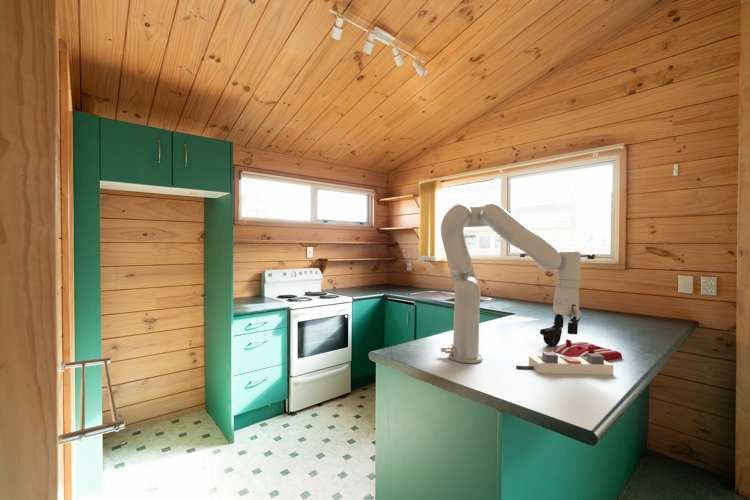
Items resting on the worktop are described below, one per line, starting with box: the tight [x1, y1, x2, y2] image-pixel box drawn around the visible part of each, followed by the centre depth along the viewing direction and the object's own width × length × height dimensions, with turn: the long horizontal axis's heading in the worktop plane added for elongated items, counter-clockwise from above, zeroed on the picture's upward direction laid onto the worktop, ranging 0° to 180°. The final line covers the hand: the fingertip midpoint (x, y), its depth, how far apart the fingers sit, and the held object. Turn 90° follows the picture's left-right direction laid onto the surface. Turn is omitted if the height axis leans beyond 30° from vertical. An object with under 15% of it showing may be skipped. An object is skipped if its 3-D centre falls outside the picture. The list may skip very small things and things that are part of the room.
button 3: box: [587, 353, 604, 365], centre depth 127 cm, size 4×3×3 cm
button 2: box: [565, 358, 581, 364], centre depth 127 cm, size 4×3×3 cm
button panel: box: [515, 355, 614, 376], centre depth 129 cm, size 32×8×4 cm, turn 89°
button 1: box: [541, 351, 559, 363], centre depth 127 cm, size 4×3×3 cm
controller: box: [539, 322, 563, 347], centre depth 159 cm, size 4×12×10 cm, turn 122°
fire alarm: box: [552, 338, 623, 362], centre depth 147 cm, size 16×6×20 cm
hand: (565, 330), depth 131 cm, fingers open, 9 cm apart
